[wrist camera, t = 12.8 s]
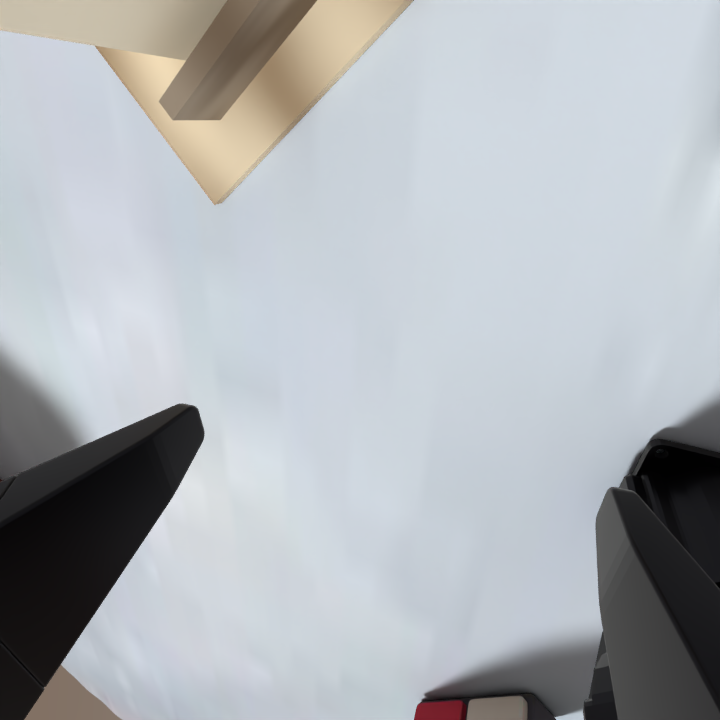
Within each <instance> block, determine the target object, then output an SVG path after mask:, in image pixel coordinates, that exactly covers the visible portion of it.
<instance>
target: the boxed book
mask: <svg viewBox="0 0 720 720" xmlns="http://www.w3.org/2000/svg"><path fill="white" fill-rule="evenodd" d="M226 1H227V0H0V30H2V31H8V32H14V33H20V34H26V35H32V36H38V37H45V38H51V39H57V40H63V41H69V42H75V43H81V44H87V45H94V46H100V47H106V48H112V49H118V50H124V51H130V52H136V53H143V54H149V55H155V56H161V57H167V58H173V59H179V60H187V59H188V57H189V56H190V54H191V53H192V51H193V50H194V48H195V47H196V46H197V44H198V43H199V41H200V40H201V38H202V37H203V35H204V34H205V32H206V31H207V29H208V28H209V26H210V25H211V23H212V22H213V21H214V19H215V18H216V16H217V15H218V13H219V12H220V10H221V9H222V7H223V6H224V4H225V3H226Z"/></svg>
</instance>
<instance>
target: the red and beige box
mask: <svg viewBox="0 0 720 720" xmlns="http://www.w3.org/2000/svg"><path fill="white" fill-rule="evenodd" d="M414 720H556V719H555V718H554V716H553V715H552V714H551V713H550V712H549V711H548V710H547V709H546V708H545V707H544V706H543V705H542V704H541V703H540V702H539V700H538V699H537V698H536V697H535V696H534V695H533V694H530V693H526V694H513V695H500V696H487V697H474V698H461V699H448V700H435V701H423V702H421V703H419V704H418V705H417V708H416V713H415V717H414Z"/></svg>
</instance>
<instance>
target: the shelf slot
mask: <svg viewBox="0 0 720 720" xmlns="http://www.w3.org/2000/svg"><path fill="white" fill-rule="evenodd" d="M413 1H414V0H227V1H226V3H225V4H224V6H223V7H222V9H221V10H220V12H219V13H218V15H217V16H216V18H215V19H214V21H213V22H212V23H211V25H210V26H209V28H208V29H207V31H206V32H205V34H204V35H203V37H202V38H201V40H200V41H199V43H198V44H197V46H196V47H195V48H194V50H193V51H192V53H191V54H190V56H189V57H188V59H187V60H179V59H173V58H167V57H161V56H155V55H149V54H143V53H136V52H130V51H124V50H118V49H112V48H106V47H100V46H95V47H96V48H97V49H98V51H99V52H100V53H101V55H102V56H103V57H104V59H105V60H106V61H107V63H108V64H109V65H110V67H111V68H112V69H113V71H114V72H115V73H116V75H117V76H118V77H119V79H120V80H121V81H122V83H123V84H124V85H125V87H126V88H127V89H128V91H129V92H130V93H131V95H132V96H133V97H134V99H135V100H136V101H137V103H138V104H139V105H140V107H141V108H142V109H143V111H144V112H145V113H146V115H147V116H148V117H149V119H150V120H151V121H152V123H153V124H154V125H155V127H156V128H157V129H158V131H159V132H160V133H161V135H162V136H163V137H164V139H165V140H166V141H167V143H168V144H169V145H170V147H171V148H172V149H173V151H174V152H175V153H176V155H177V156H178V157H179V159H180V160H181V161H182V163H183V164H184V165H185V167H186V168H187V169H188V170H189V172H190V173H191V174H192V176H193V177H194V178H195V180H196V181H197V182H198V184H199V185H200V186H201V188H202V189H203V190H204V192H205V193H206V194H207V196H208V197H209V198H210V200H211V201H212V202H213V204H214V205H216V204H219V203H222V202H223V201H224V200H225V199H226V198H227V197H228V196H229V195H230V194H231V193H232V192H233V191H234V189H235V188H236V187H237V186H238V185H239V184H240V183H241V182H242V181H243V180H244V179H245V178H246V177H247V176H248V175H249V174H250V173H251V172H252V170H253V169H254V168H255V167H256V166H257V165H258V164H259V163H260V162H261V161H262V160H263V159H264V158H265V157H266V156H267V155H268V154H269V153H270V151H271V150H272V149H273V148H274V147H275V146H276V145H277V144H278V143H279V142H280V141H281V140H282V139H283V138H284V137H285V136H286V135H287V134H288V132H289V131H290V130H291V129H292V128H293V127H294V126H295V125H296V124H297V123H298V122H299V121H300V120H301V119H302V118H303V117H304V116H305V115H306V113H307V112H308V111H309V110H310V109H311V108H312V107H313V106H314V105H315V104H316V103H317V102H318V101H319V100H320V99H321V98H322V97H323V96H324V94H325V93H326V92H327V91H328V90H329V89H330V88H331V87H332V86H333V85H334V84H335V83H336V82H337V81H338V80H339V79H340V78H341V77H342V75H343V74H344V73H345V72H346V71H347V70H348V69H349V68H350V67H351V66H352V65H353V64H354V63H355V62H356V61H357V60H358V59H359V58H360V56H361V55H362V54H363V53H364V52H365V51H366V50H367V49H368V48H369V47H370V46H371V45H372V44H373V43H374V42H375V41H376V40H377V39H378V38H379V36H380V35H381V34H382V33H383V32H384V31H385V30H386V29H387V28H388V27H389V26H390V25H391V24H392V23H393V22H394V21H395V20H396V19H397V17H398V16H399V15H400V14H401V13H402V12H403V11H404V10H405V9H406V8H407V7H408V6H409V5H410V4H411V3H412V2H413Z"/></svg>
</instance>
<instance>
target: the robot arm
mask: <svg viewBox="0 0 720 720" xmlns="http://www.w3.org/2000/svg"><path fill="white" fill-rule="evenodd" d="M203 439H204V428H203V425H202V421H201V417H200V414H199V411H198V409H197V408H196V407H195V406H193V405H188V404H177V405H175V406H172V407H170V408H168V409H165V410H163V411H161V412H159V413H156V414H154V415H152V416H150V417H147V418H145V419H143V420H140V421H138V422H136V423H134V424H131V425H129V426H127V427H124V428H122V429H120V430H118V431H115V432H113V433H111V434H108V435H106V436H104V437H102V438H99V439H97V440H95V441H93V442H90V443H88V444H86V445H83V446H81V447H79V448H77V449H74V450H72V451H70V452H67V453H65V454H63V455H61V456H58V457H56V458H54V459H51V460H49V461H47V462H45V463H42V464H40V465H38V466H35V467H33V468H31V469H29V470H26V471H24V472H22V473H20V474H18V475H17V476H12V477H10V478H8V479H6V480H3V481H1V482H0V720H24V719H25V718H26V716H27V715H28V713H29V712H30V710H31V709H32V707H33V705H34V704H35V703H36V701H37V700H38V698H39V697H40V695H41V694H42V692H43V691H44V687H46V686H47V684H48V683H49V681H50V680H51V678H52V677H53V675H54V673H55V672H56V670H57V669H58V668H59V666H60V665H61V663H62V662H63V660H64V659H65V657H66V656H67V654H68V653H69V651H70V650H71V648H72V647H73V645H74V644H75V642H76V641H77V639H78V638H79V636H80V635H81V633H82V632H83V630H84V629H85V627H86V626H87V624H88V623H89V622H90V620H91V619H92V617H93V616H94V614H95V613H96V611H97V610H98V608H99V607H100V605H101V604H102V602H103V601H104V599H105V598H106V596H107V595H108V593H109V592H110V590H111V589H112V587H113V586H114V584H115V583H116V581H117V580H118V578H119V577H120V575H121V574H122V572H123V571H124V569H125V568H126V566H127V565H128V563H129V562H130V560H131V559H132V557H133V556H134V554H135V553H136V551H137V550H138V548H139V547H140V545H141V544H142V542H143V541H144V539H145V538H146V536H147V535H148V533H149V532H150V530H151V529H152V527H153V526H154V524H155V523H156V521H157V520H158V518H159V517H160V515H161V514H162V512H163V511H164V509H165V508H166V506H167V505H168V503H169V502H170V500H171V499H172V497H173V496H174V494H175V492H176V490H177V489H178V487H179V485H180V483H181V481H182V479H183V478H184V476H185V474H186V472H187V470H188V468H189V466H190V464H191V463H192V461H193V459H194V457H195V455H196V453H197V451H198V449H199V448H200V446H201V444H202V442H203ZM659 449H664V450H665V451H664V452H662V453H657V452H656V451H657V450H659ZM596 547H597V569H598V591H599V606H600V613H601V620H602V626H603V632H602V636H601V641H600V646H599V651H598V656H597V660H596V665H595V668H594V674H593V680H592V684H591V689H590V694H589V699H586V700H585V702H584V707H583V715H584V720H720V453H718V452H713V451H709V450H705V449H701V448H697V447H693V446H689V445H685V444H680V443H676V442H672V441H668V440H663V439H657V440H653V441H651V442H649V443H648V445H647V446H646V448H645V450H644V452H643V454H642V456H641V458H640V460H639V462H638V464H637V466H636V468H635V469H634V471H633V473H632V474H629V475H628V476H626V477H624V479H623V481H622V483H621V485H620V487H619V488H617V487H611V488H609V489H608V490H607V492H606V494H605V497H604V499H603V502H602V504H601V506H600V509H599V511H598V514H597V517H596Z"/></svg>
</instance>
